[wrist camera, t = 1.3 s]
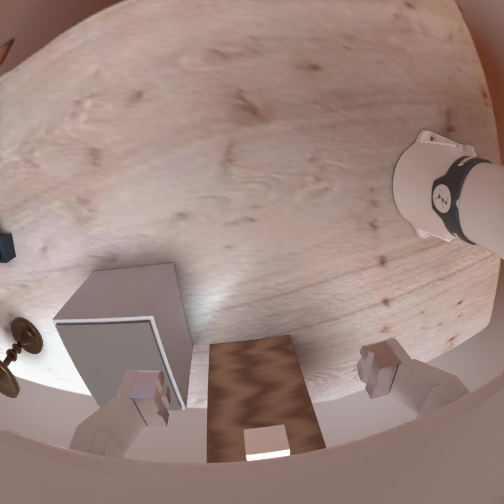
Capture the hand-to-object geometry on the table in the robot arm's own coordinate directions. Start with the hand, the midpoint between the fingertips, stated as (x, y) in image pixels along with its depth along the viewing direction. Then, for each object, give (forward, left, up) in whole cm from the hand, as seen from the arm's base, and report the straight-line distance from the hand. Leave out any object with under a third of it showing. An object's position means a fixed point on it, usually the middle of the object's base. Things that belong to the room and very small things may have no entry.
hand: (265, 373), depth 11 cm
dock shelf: (+17, +15, -31) cm, 39 cm away
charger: (0, +22, -6) cm, 23 cm away
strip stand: (0, +28, -31) cm, 42 cm away
